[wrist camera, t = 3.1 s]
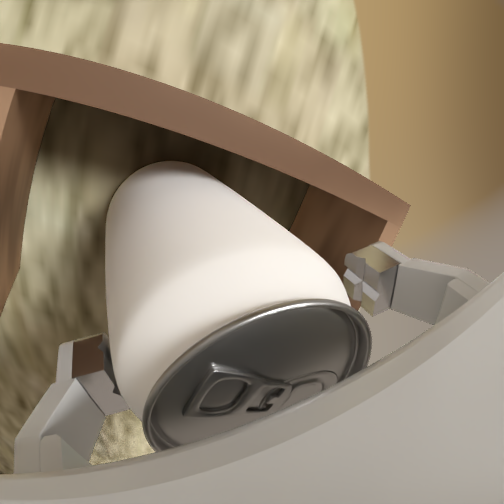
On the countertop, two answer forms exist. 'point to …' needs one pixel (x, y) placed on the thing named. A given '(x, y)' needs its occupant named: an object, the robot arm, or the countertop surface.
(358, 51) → the countertop surface
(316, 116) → the countertop surface
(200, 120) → the brown wooden u-shaped frame
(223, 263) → the can
